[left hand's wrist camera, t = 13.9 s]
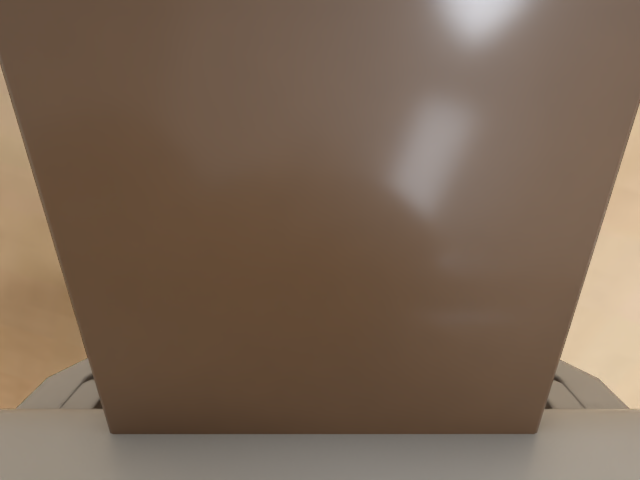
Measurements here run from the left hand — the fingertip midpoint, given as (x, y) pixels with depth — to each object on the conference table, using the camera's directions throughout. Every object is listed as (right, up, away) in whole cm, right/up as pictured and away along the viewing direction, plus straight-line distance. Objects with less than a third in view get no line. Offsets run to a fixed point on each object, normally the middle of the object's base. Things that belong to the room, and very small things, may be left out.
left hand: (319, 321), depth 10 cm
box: (0, +10, 0) cm, 10 cm away
